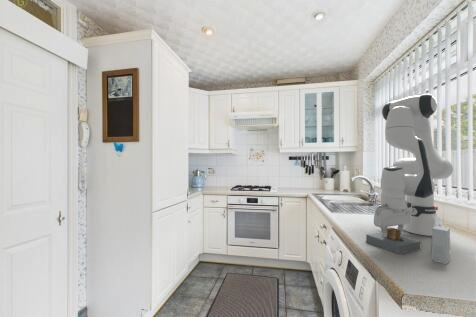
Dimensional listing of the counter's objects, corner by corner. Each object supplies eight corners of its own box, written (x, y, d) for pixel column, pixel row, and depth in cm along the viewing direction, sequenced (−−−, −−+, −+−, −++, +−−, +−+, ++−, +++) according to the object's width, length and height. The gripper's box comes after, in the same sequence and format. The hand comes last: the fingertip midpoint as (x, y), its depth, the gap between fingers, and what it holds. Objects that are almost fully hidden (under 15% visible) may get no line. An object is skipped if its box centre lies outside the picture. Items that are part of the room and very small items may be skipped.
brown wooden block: (402, 247, 93) (402, 230, 93) (396, 248, 91) (396, 231, 91) (388, 242, 98) (388, 226, 98) (382, 243, 97) (382, 227, 97)
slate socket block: (386, 237, 104) (386, 231, 104) (420, 248, 91) (420, 241, 91) (366, 241, 98) (366, 234, 98) (399, 254, 86) (399, 245, 86)
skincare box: (434, 256, 84) (435, 225, 85) (450, 260, 81) (450, 227, 81) (431, 260, 81) (431, 227, 81) (447, 264, 77) (447, 230, 77)
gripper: (384, 206, 88) (384, 240, 88) (414, 203, 96) (414, 234, 96) (369, 203, 94) (369, 235, 94) (399, 201, 102) (399, 230, 102)
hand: (392, 235), depth 95 cm, fingers open, 8 cm apart
